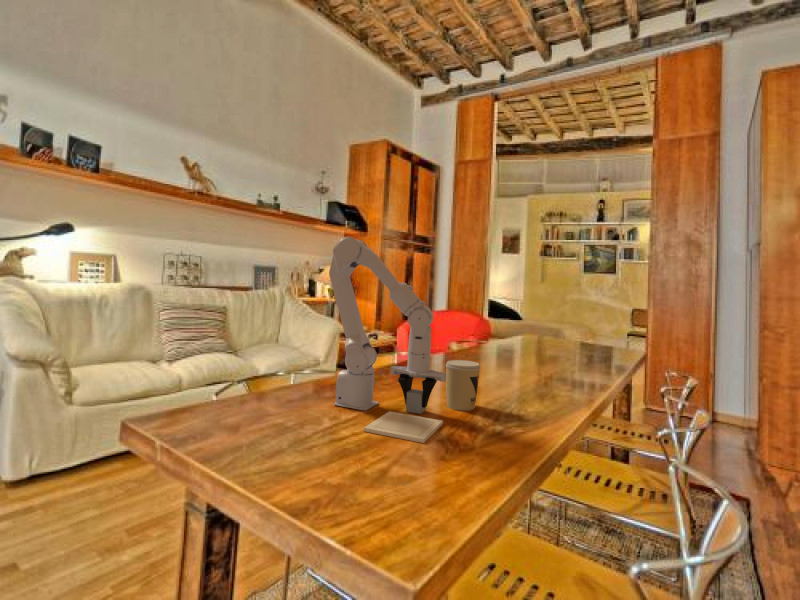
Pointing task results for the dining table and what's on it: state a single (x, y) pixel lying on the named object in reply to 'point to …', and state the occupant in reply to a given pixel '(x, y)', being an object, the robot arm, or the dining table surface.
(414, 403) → the block
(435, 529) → the dining table surface
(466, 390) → the coffee cup
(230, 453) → the dining table surface
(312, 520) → the dining table surface
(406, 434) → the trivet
